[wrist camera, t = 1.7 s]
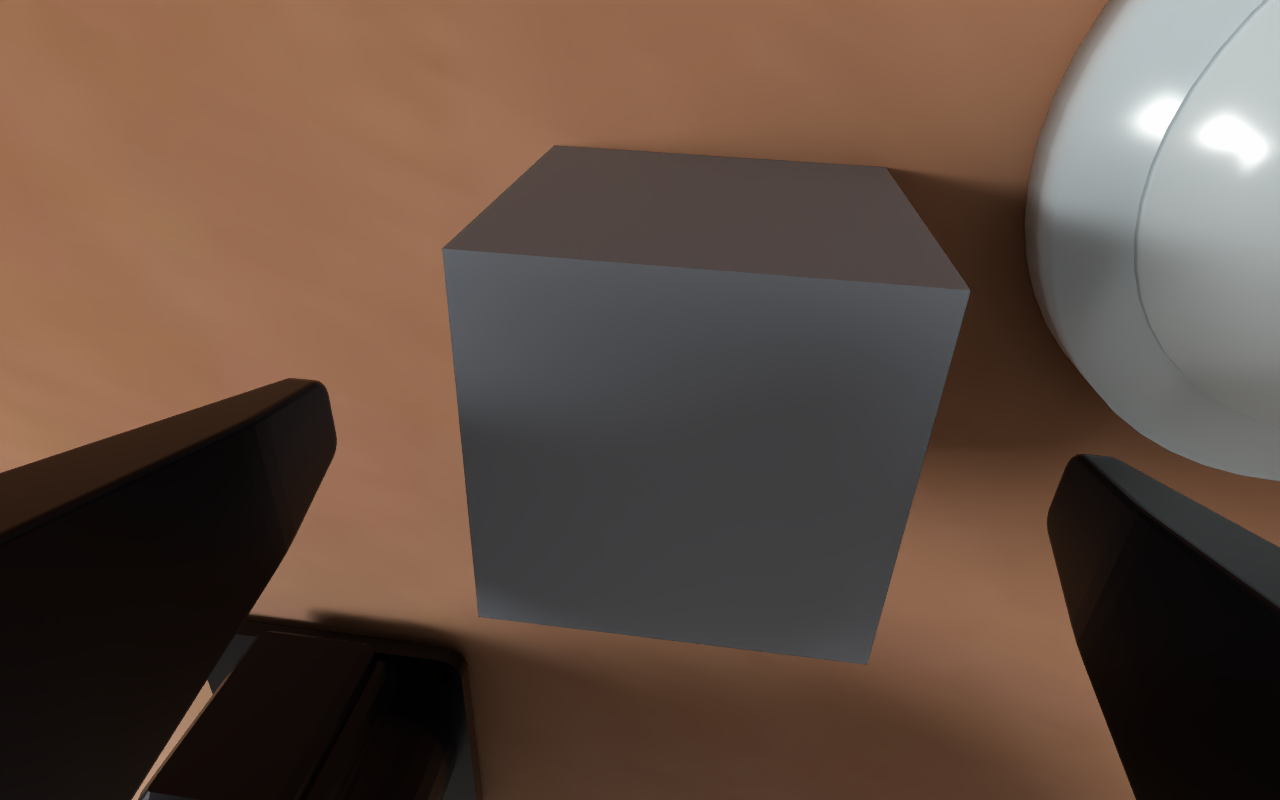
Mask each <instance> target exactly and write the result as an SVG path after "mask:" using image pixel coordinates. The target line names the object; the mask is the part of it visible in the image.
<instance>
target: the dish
mask: <svg viewBox="0 0 1280 800" xmlns="http://www.w3.org/2000/svg"><path fill="white" fill-rule="evenodd" d="M1025 241H1026V258H1027V264H1028V269H1029V273H1030V278H1031V282H1032V287H1033V292H1034V295H1035V297H1036V300H1037V302H1038V305H1039V308H1040V310H1041V313H1042V315H1043V318H1044V320H1045V323H1046V325H1047V326H1048V328H1049V330H1050V331H1051V333H1052V335H1053V336H1054V338H1055V339H1056V341H1057V343H1058V344H1059V346H1060V348H1061V349H1062V351H1063V352H1064V353H1065V355H1066V356H1067V357H1068V358H1069V359H1070V361H1071V362H1072V363H1073V364H1074V366H1075V367H1076V368H1077V369H1078V370H1079V372H1080V373H1081V374H1082V375H1083V377H1084V378H1085V379H1086V380H1087V381H1088V383H1089V384H1090V385H1091V386H1092V387H1093V389H1094V390H1095V391H1096V392H1097V393H1098V394H1099V396H1100V397H1101V398H1102V399H1103V400H1104V401H1105V402H1106V404H1107V405H1108V406H1109V407H1110V408H1111V409H1112V410H1113V412H1114V413H1116V414H1117V415H1118V416H1119V417H1121V418H1122V419H1123V420H1124V421H1125V422H1127V423H1128V424H1129V425H1130V426H1131V427H1133V428H1134V429H1135V430H1136V431H1138V432H1139V433H1140V434H1142V435H1143V436H1145V437H1147V438H1148V439H1150V440H1152V441H1153V442H1155V443H1157V444H1159V445H1160V446H1162V447H1164V448H1165V449H1167V450H1169V451H1171V452H1173V453H1175V454H1178V455H1180V456H1183V457H1185V458H1187V459H1190V460H1192V461H1195V462H1197V463H1200V464H1202V465H1205V466H1208V467H1212V468H1216V469H1219V470H1223V471H1227V472H1230V473H1234V474H1238V475H1242V476H1249V477H1256V478H1262V479H1269V480H1275V481H1280V0H1109V1H1108V2H1107V4H1106V5H1105V6H1104V8H1103V10H1102V11H1101V13H1100V14H1099V16H1098V18H1097V19H1096V21H1095V22H1094V24H1093V25H1092V27H1091V29H1090V30H1089V32H1088V33H1087V35H1086V37H1085V38H1084V40H1083V41H1082V43H1081V44H1080V46H1079V48H1078V49H1077V51H1076V52H1075V54H1074V56H1073V59H1072V61H1071V63H1070V65H1069V67H1068V69H1067V71H1066V73H1065V75H1064V77H1063V79H1062V81H1061V83H1060V85H1059V87H1058V89H1057V91H1056V93H1055V95H1054V97H1053V100H1052V102H1051V105H1050V108H1049V111H1048V114H1047V116H1046V119H1045V122H1044V125H1043V127H1042V130H1041V133H1040V136H1039V139H1038V141H1037V146H1036V150H1035V155H1034V159H1033V163H1032V168H1031V172H1030V177H1029V181H1028V189H1027V200H1026V211H1025Z"/></svg>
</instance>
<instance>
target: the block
mask: <svg viewBox="0 0 1280 800" xmlns="http://www.w3.org/2000/svg"><path fill="white" fill-rule="evenodd" d="M442 251H443V261H444V271H445V282H446V292H447V302H448V312H449V322H450V332H451V342H452V352H453V363H454V373H455V383H456V393H457V403H458V413H459V423H460V433H461V443H462V454H463V464H464V474H465V484H466V494H467V504H468V514H469V524H470V535H471V545H472V555H473V565H474V575H475V585H476V595H477V605H478V616H479V617H485V618H493V619H501V620H509V621H517V622H525V623H533V624H541V625H550V626H558V627H566V628H574V629H582V630H590V631H598V632H606V633H615V634H623V635H631V636H639V637H647V638H655V639H663V640H671V641H680V642H688V643H696V644H704V645H712V646H720V647H728V648H736V649H744V650H753V651H761V652H769V653H777V654H785V655H793V656H801V657H809V658H818V659H826V660H834V661H842V662H850V663H858V664H866V665H867V663H868V660H869V656H870V652H871V649H872V645H873V642H874V638H875V634H876V631H877V627H878V624H879V620H880V616H881V613H882V609H883V606H884V602H885V598H886V595H887V591H888V587H889V584H890V580H891V577H892V573H893V569H894V566H895V562H896V559H897V555H898V551H899V548H900V544H901V540H902V537H903V533H904V530H905V526H906V522H907V519H908V515H909V512H910V508H911V504H912V501H913V497H914V494H915V490H916V486H917V483H918V479H919V475H920V472H921V468H922V465H923V461H924V457H925V454H926V450H927V447H928V443H929V439H930V436H931V432H932V429H933V425H934V421H935V418H936V414H937V410H938V407H939V403H940V400H941V396H942V392H943V389H944V385H945V382H946V378H947V374H948V371H949V367H950V364H951V360H952V356H953V353H954V349H955V345H956V342H957V338H958V335H959V331H960V327H961V324H962V320H963V317H964V313H965V309H966V306H967V302H968V298H969V295H970V291H971V290H970V289H969V287H968V286H967V284H966V283H965V281H964V280H963V278H962V277H961V276H960V274H959V273H958V271H957V270H956V268H955V267H954V265H953V264H952V263H951V261H950V260H949V258H948V257H947V255H946V254H945V252H944V251H943V249H942V248H941V247H940V245H939V244H938V242H937V241H936V239H935V238H934V236H933V235H932V234H931V232H930V231H929V229H928V228H927V226H926V225H925V223H924V222H923V220H922V219H921V218H920V216H919V215H918V213H917V212H916V210H915V209H914V207H913V206H912V205H911V203H910V202H909V200H908V199H907V197H906V196H905V194H904V193H903V192H902V190H901V189H900V187H899V186H898V184H897V183H896V181H895V180H894V178H893V177H892V176H891V174H890V173H889V171H888V170H887V168H886V167H874V166H858V165H843V164H828V163H813V162H798V161H782V160H767V159H752V158H737V157H722V156H706V155H691V154H676V153H661V152H646V151H631V150H615V149H600V148H585V147H570V146H555V145H554V146H553V147H552V148H551V149H550V150H549V151H548V152H547V153H546V154H544V155H543V156H542V157H541V158H540V159H539V160H538V161H537V162H536V163H535V164H534V165H533V166H531V167H530V168H529V169H528V170H527V171H526V172H525V173H524V174H523V175H522V176H521V177H519V178H518V179H517V180H516V181H515V182H514V183H513V184H512V185H511V186H510V187H509V188H508V189H506V190H505V191H504V192H503V193H502V194H501V195H500V196H499V197H498V198H497V199H496V200H495V201H493V202H492V203H491V204H490V205H489V206H488V207H487V208H486V209H485V210H484V211H483V212H482V213H480V214H479V215H478V216H477V217H476V218H475V219H474V220H473V221H472V222H471V223H470V224H468V225H467V226H466V227H465V228H464V229H463V230H462V231H461V232H460V233H459V234H458V235H457V236H455V237H454V238H453V239H452V240H451V241H450V242H449V243H448V244H447V245H446V246H445V247H444V248H442Z"/></svg>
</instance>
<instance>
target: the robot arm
mask: <svg viewBox="0 0 1280 800" xmlns="http://www.w3.org/2000/svg"><path fill="white" fill-rule="evenodd" d="M336 445H337V437H336V431H335V426H334V421H333V416H332V411H331V405H330V400H329V395H328V392H327V389H326V387H325V386H324V385H323V384H322V383H321V382H320V381H316V380H307V379H296V378H289V379H285V380H282V381H279V382H276V383H273V384H270V385H266V386H263V387H260V388H257V389H254V390H251V391H248V392H245V393H242V394H239V395H236V396H233V397H230V398H227V399H224V400H221V401H218V402H215V403H212V404H209V405H206V406H203V407H200V408H197V409H194V410H191V411H188V412H184V413H181V414H178V415H175V416H172V417H169V418H166V419H163V420H160V421H157V422H154V423H151V424H148V425H145V426H142V427H139V428H136V429H133V430H130V431H127V432H124V433H121V434H118V435H115V436H112V437H109V438H106V439H103V440H99V441H96V442H93V443H90V444H87V445H84V446H81V447H78V448H75V449H72V450H69V451H66V452H63V453H60V454H57V455H54V456H51V457H48V458H45V459H42V460H39V461H36V462H33V463H30V464H27V465H24V466H21V467H17V468H14V469H11V470H8V471H5V472H2V473H0V800H132V798H133V797H134V795H135V793H136V792H137V790H138V789H139V787H140V786H141V784H142V782H143V781H144V779H145V778H146V776H147V774H148V773H149V771H150V770H151V768H152V767H153V765H154V763H155V762H156V760H157V759H158V757H159V755H160V754H161V752H162V751H163V749H164V747H165V746H166V744H167V743H168V741H169V740H170V738H171V736H172V735H173V733H174V732H175V730H176V728H177V727H178V725H179V724H180V722H181V720H182V719H183V717H184V716H185V714H186V713H187V711H188V709H189V708H190V706H191V705H192V703H193V701H194V700H195V698H196V697H197V695H198V693H199V692H200V690H201V689H202V687H203V686H204V684H205V682H206V681H207V680H208V682H209V685H210V688H211V690H212V693H213V695H212V697H211V698H210V699H209V701H208V702H207V704H206V705H205V706H204V708H203V709H202V710H201V712H200V713H199V714H198V716H197V717H196V718H195V720H194V721H193V723H192V724H191V725H190V727H189V728H188V729H187V731H186V732H185V733H184V735H183V736H182V737H181V739H180V740H179V742H178V743H177V744H176V746H175V747H174V748H173V750H172V751H171V752H170V754H169V755H168V756H167V758H166V759H165V761H164V762H163V763H162V765H161V766H160V767H159V769H158V770H157V771H156V773H155V774H154V775H153V777H152V778H151V780H150V781H149V782H148V784H147V785H146V786H145V788H144V789H143V790H142V792H141V794H140V797H139V799H138V800H483V797H482V788H481V780H480V771H479V762H478V754H477V745H476V736H475V727H474V719H473V710H472V701H471V693H470V684H469V675H468V667H467V662H466V660H465V658H464V657H463V656H462V655H461V654H460V653H459V652H457V651H456V650H454V649H452V648H448V647H444V646H436V645H428V644H420V643H413V642H405V641H397V640H389V639H381V638H373V637H366V636H358V635H350V634H342V633H334V632H326V631H318V630H311V629H303V628H295V627H287V626H279V625H271V624H264V623H256V622H248V621H244V620H245V619H246V617H247V616H248V614H249V613H250V611H251V609H252V608H253V606H254V605H255V603H256V601H257V600H258V598H259V597H260V595H261V593H262V592H263V590H264V589H265V587H266V586H267V584H268V582H269V581H270V579H271V578H272V576H273V574H274V573H275V571H276V570H277V568H278V566H279V565H280V563H281V561H282V560H283V558H284V556H285V555H286V553H287V551H288V549H289V547H290V545H291V544H292V542H293V540H294V538H295V536H296V534H297V532H298V530H299V528H300V526H301V523H302V521H303V519H304V517H305V515H306V513H307V511H308V509H309V507H310V505H311V503H312V501H313V499H314V497H315V494H316V492H317V490H318V488H319V486H320V484H321V482H322V480H323V478H324V476H325V474H326V472H327V470H328V467H329V465H330V463H331V461H332V459H333V457H334V454H335V451H336ZM1047 529H1048V534H1049V538H1050V542H1051V546H1052V550H1053V554H1054V558H1055V562H1056V566H1057V570H1058V574H1059V578H1060V582H1061V586H1062V590H1063V594H1064V598H1065V602H1066V606H1067V610H1068V614H1069V618H1070V622H1071V626H1072V629H1073V632H1074V636H1075V639H1076V643H1077V646H1078V649H1079V651H1080V654H1081V657H1082V660H1083V663H1084V665H1085V668H1086V671H1087V673H1088V676H1089V678H1090V681H1091V684H1092V686H1093V689H1094V691H1095V694H1096V697H1097V699H1098V702H1099V704H1100V707H1101V710H1102V712H1103V715H1104V717H1105V720H1106V723H1107V725H1108V728H1109V730H1110V733H1111V736H1112V738H1113V741H1114V744H1115V746H1116V749H1117V751H1118V754H1119V757H1120V759H1121V762H1122V764H1123V767H1124V770H1125V772H1126V775H1127V777H1128V780H1129V783H1130V785H1131V788H1132V790H1133V793H1134V796H1135V798H1136V800H1280V548H1279V547H1278V546H1276V545H1274V544H1272V543H1270V542H1268V541H1267V540H1265V539H1263V538H1261V537H1259V536H1257V535H1256V534H1254V533H1252V532H1250V531H1248V530H1246V529H1245V528H1243V527H1241V526H1239V525H1237V524H1235V523H1234V522H1232V521H1230V520H1228V519H1226V518H1224V517H1223V516H1221V515H1219V514H1217V513H1215V512H1213V511H1212V510H1210V509H1208V508H1206V507H1204V506H1202V505H1201V504H1199V503H1197V502H1195V501H1193V500H1191V499H1190V498H1188V497H1186V496H1184V495H1182V494H1180V493H1179V492H1177V491H1175V490H1173V489H1171V488H1169V487H1168V486H1166V485H1164V484H1162V483H1160V482H1158V481H1157V480H1155V479H1153V478H1151V477H1149V476H1147V475H1146V474H1144V473H1142V472H1140V471H1138V470H1136V469H1135V468H1133V467H1131V466H1129V465H1127V464H1125V463H1124V462H1122V461H1120V460H1118V459H1116V458H1113V457H1108V456H1098V455H1087V454H1078V455H1076V456H1074V457H1072V458H1071V459H1070V461H1069V462H1068V464H1067V465H1066V467H1065V470H1064V473H1063V475H1062V478H1061V480H1060V483H1059V485H1058V488H1057V490H1056V493H1055V496H1054V498H1053V501H1052V503H1051V506H1050V508H1049V512H1048V517H1047Z"/></svg>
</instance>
